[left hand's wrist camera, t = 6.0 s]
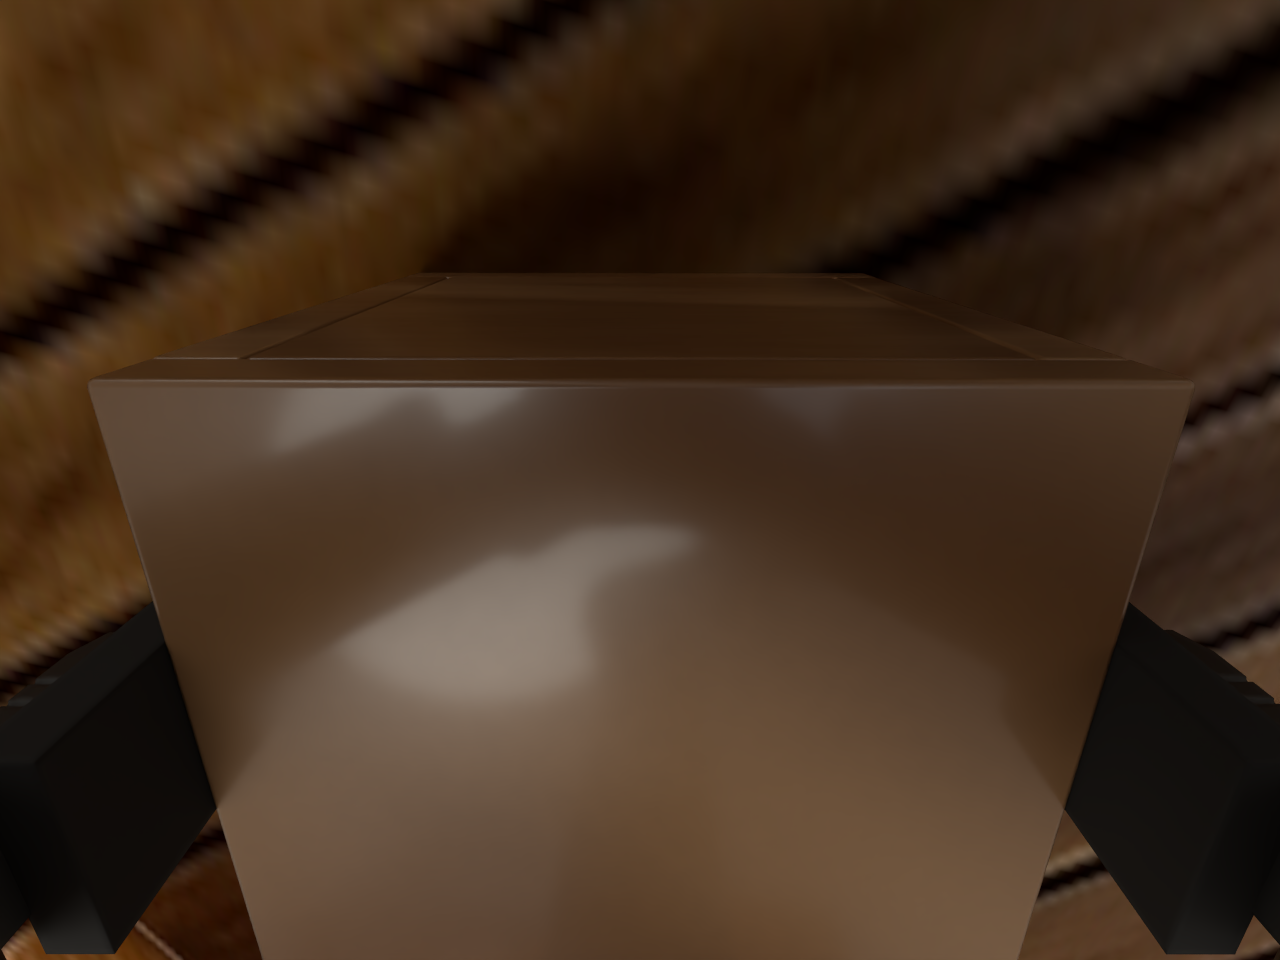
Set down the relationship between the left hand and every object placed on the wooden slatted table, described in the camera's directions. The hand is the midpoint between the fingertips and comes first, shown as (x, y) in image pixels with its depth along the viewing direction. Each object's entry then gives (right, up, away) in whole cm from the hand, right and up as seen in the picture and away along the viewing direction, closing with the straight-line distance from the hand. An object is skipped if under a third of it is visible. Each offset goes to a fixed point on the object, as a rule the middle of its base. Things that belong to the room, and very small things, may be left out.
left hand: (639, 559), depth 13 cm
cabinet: (0, -3, +9) cm, 9 cm away
